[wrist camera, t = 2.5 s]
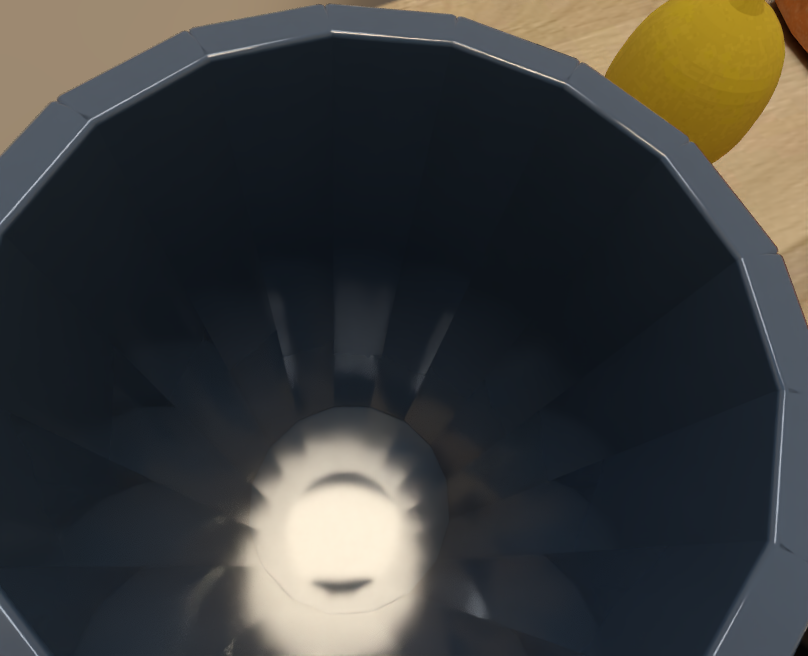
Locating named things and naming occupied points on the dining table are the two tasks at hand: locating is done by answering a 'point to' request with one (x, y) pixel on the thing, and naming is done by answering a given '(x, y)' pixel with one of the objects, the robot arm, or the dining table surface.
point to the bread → (796, 18)
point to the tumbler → (389, 360)
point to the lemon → (704, 67)
